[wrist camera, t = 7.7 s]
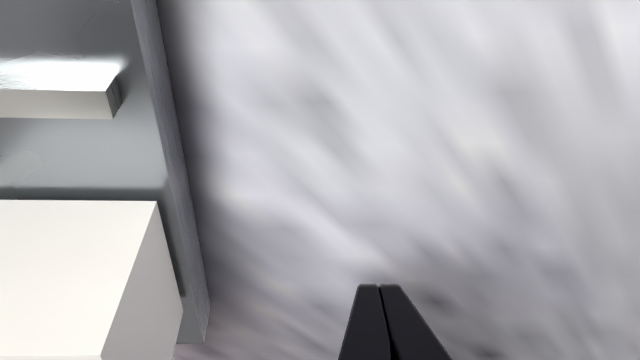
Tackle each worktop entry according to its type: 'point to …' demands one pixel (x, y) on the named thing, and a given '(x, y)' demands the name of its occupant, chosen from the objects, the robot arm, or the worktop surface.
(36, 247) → the matte white cube
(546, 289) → the worktop surface
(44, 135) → the strip
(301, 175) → the worktop surface
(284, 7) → the worktop surface
